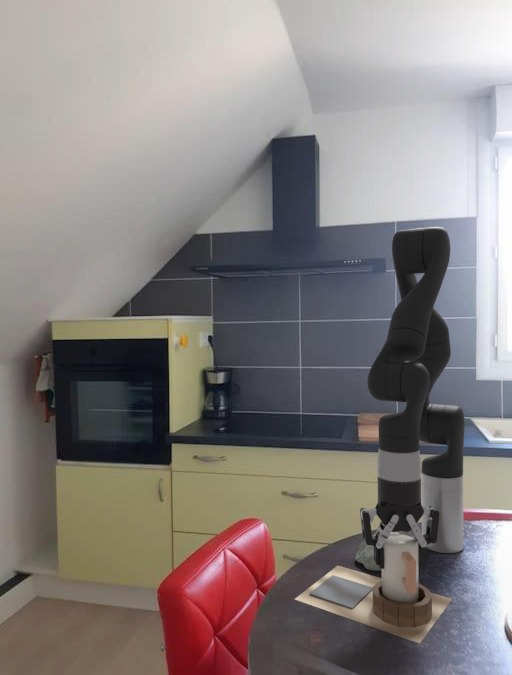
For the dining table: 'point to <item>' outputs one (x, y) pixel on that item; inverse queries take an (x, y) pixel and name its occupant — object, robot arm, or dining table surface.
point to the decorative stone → (371, 554)
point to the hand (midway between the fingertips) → (399, 565)
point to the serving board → (367, 605)
